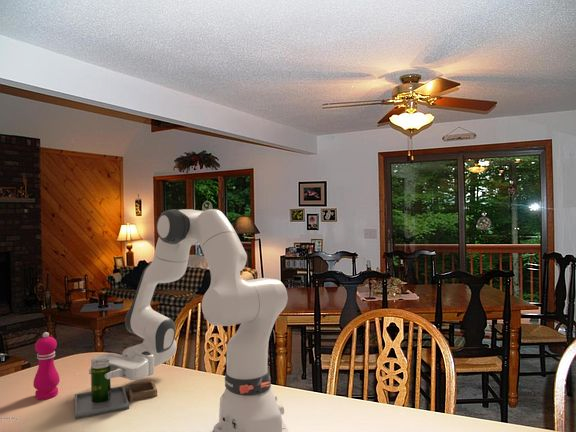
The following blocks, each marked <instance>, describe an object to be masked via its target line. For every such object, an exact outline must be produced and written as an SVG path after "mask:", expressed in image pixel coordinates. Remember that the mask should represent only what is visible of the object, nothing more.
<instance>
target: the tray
mask: <svg viewBox="0 0 576 432" xmlns="http://www.w3.org/2000/svg"><path fill="white" fill-rule="evenodd" d="M126 391H127V390H126V388H125V386H124V385H122V386H114V387H111V399H110V401H109V402H108V403H106V404H103V405H94V404H93V403H92V401H91V391H85V392H81V393H74V409H75V410H74V413H75V414H74V415H75V416H74V419H75V420H78V419H82V418H89V417H92V416H98V415H104V414H109V413H113V412H118V411H123V410H128V409H129V410H130V401H129V399H128V398H129V397H128V394H127V393H126Z"/></svg>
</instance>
